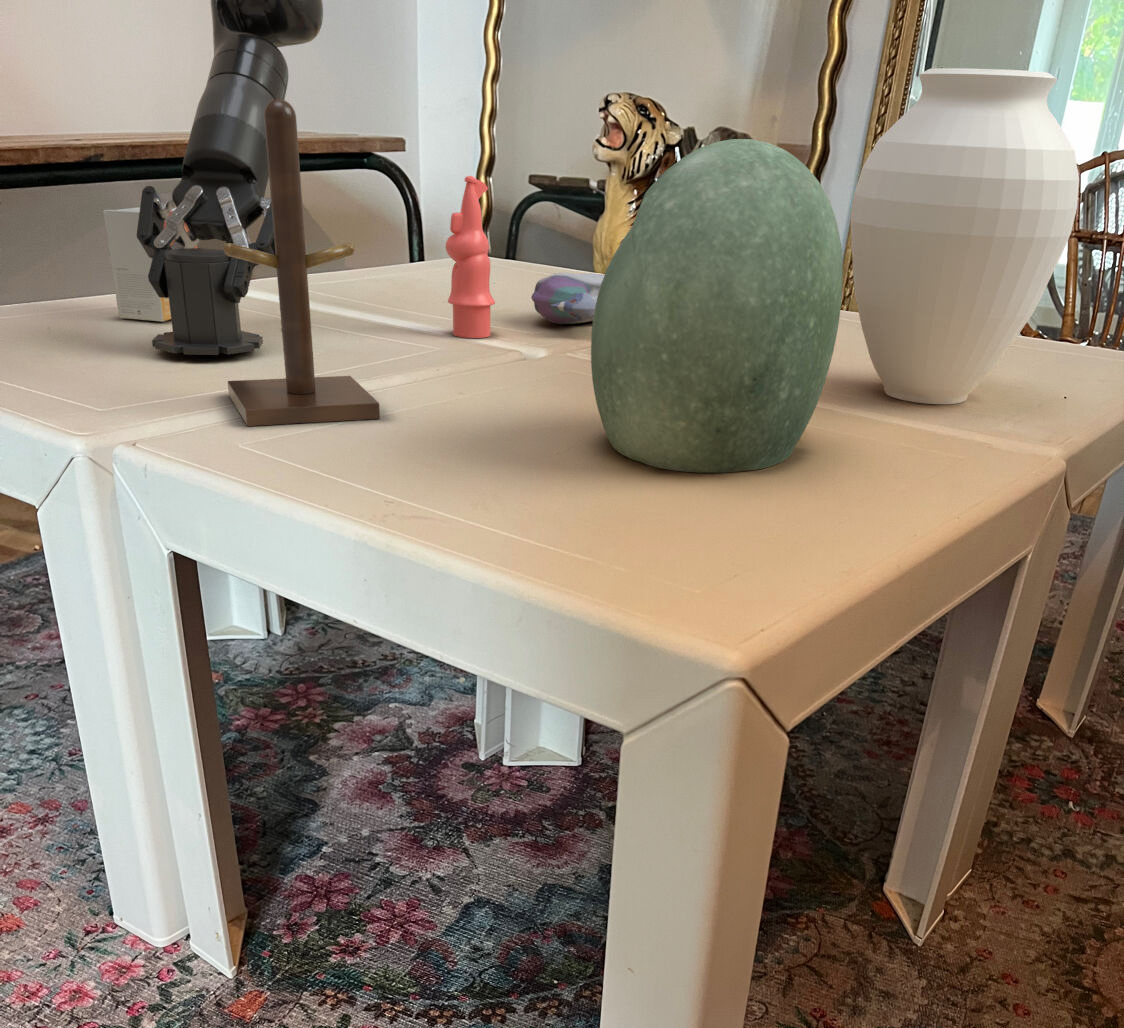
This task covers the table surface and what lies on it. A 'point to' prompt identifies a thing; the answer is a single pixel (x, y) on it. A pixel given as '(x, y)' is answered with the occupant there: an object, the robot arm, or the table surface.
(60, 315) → the table surface
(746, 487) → the table surface
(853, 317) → the table surface
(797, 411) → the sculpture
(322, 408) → the coat stand
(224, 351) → the hat
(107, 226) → the small box
